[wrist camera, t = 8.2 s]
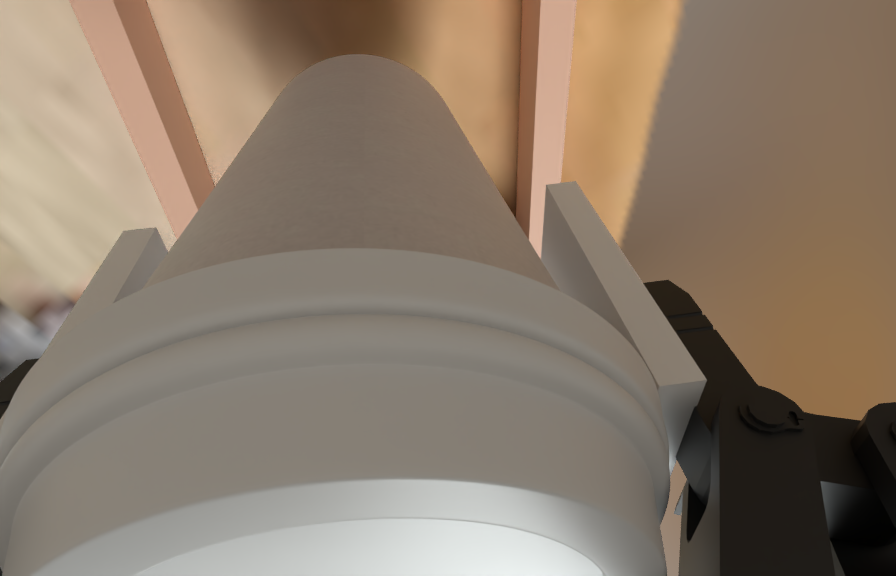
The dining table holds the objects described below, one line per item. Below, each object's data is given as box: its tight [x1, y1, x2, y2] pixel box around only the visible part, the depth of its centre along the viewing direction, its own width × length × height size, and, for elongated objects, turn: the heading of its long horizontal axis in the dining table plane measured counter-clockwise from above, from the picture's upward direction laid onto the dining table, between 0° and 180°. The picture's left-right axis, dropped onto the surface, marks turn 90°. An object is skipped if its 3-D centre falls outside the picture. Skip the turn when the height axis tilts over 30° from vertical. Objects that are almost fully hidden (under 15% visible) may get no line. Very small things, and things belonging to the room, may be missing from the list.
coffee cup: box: [0, 54, 670, 576], centre depth 13 cm, size 10×10×15 cm
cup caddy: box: [69, 0, 577, 259], centre depth 25 cm, size 30×15×2 cm, turn 3°
